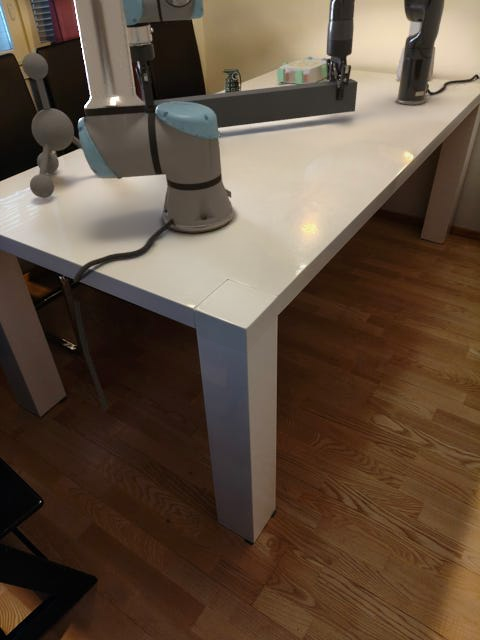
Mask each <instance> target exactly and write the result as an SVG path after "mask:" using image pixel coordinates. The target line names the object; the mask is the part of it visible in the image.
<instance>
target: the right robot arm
mask: <svg viewBox="0 0 480 640" xmlns="http://www.w3.org/2000/svg"><path fill="white" fill-rule="evenodd" d="M355 3H356V0H330V1H329V12H328V13H329V14H328V25H327V34H326V35H327V36H326V55H327V56H328V57H330V58H326V59H327V60H326V66H327V77H326V81H334V80H336V81H337V93H336V100H338V101H339V100H343V99H344V87H345V86H348V83H349V79H350V76H351V71H352V65H350V64H349V65H348V60H347V58H348V56H350V55H352V52H353V42H354V40H353V39H354V28H355V25H354V19H355V17H354V16H355ZM403 5H404V15H405V17H406V20H407V21H409V22H417V23H422V25H421V29H420V31H419V32H418V33H416V34H413V35H410V36H409V35H408V36H407V37H406V38H405V44H404V46H405V50H404V57H403V64H402V71H401V79H400V80H399V85H398V94H397V98H396V102H397V103H399V104H401V105H408V106H414V105H421V104H424V103H425V102H426V95H427V94H428V95H430V96H434V95H438V94H440V93H441V92H442V91H444V90H446V89H447V88H446V87H447V85H451V84H463V83H470V82H473V81H474V80H475V79H477V80H478V79H480V76H479V74H474V75H473V76H472V77H471V78H467V79H459V80H458V79H457V80H449V81H446V82H444V83H443V86H442V87H441V88H439V89H438V90H436V91H431V90H430V89H429V88H430V83H429V80H428V79H429V73H430V67H431V61H432V55H433V50H434V47H435V44H436V40H437V38H438V34H439V30H440V28H441V27H440V26H441V22H442V18H443V13H444V8H445V0H403ZM345 79H346V80H345ZM339 80H340V81H339Z"/></svg>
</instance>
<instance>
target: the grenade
mask: <svg viewBox="0 0 480 640" xmlns="http://www.w3.org/2000/svg"><path fill="white" fill-rule="evenodd" d="M221 72H222V73H223V74H226V76H227V77H226V78H225V80H224V81H225V82H224V93H227V92H236V91H242V74H241V73H240V71H239V69H237V68H224V69H222V71H221ZM236 76H237V77H236Z"/></svg>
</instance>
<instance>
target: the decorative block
mask: <svg viewBox="0 0 480 640" xmlns="http://www.w3.org/2000/svg"><path fill="white" fill-rule="evenodd" d="M327 59H328V58H327V57H322V58H320V57H312V56H308V57H306V58H303V59H297V60H295V61H292V62H287V61H286V62H282V65H281V66H279V68H277V71H276V72H277V77H276V78H277V80H276V81H277V82H279V83H288V84H295V85H298V84H307V83H316V82H321V81H322V80H324V79H327V66H326V60H327Z"/></svg>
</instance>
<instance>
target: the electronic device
mask: <svg viewBox="0 0 480 640" xmlns="http://www.w3.org/2000/svg"><path fill="white" fill-rule="evenodd" d="M409 22H410V23H409V30H408V36H410V35H413V34H416V33H418V32H419V31H420V29H421V25H422V23H417V22H411V21H409ZM404 50H405V45H404V46H403V48H402V50H401V54H400V58H399V61H398V64H397V68H396V78H397V79H398V81H400V79H401V71H402V64H403V57H404ZM435 56H436V47H435V46H434V50H433V55H432V61H431V67H430V73H429V79H428V81H430V80H431V79H432V78H433V76H434V66H435Z"/></svg>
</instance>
